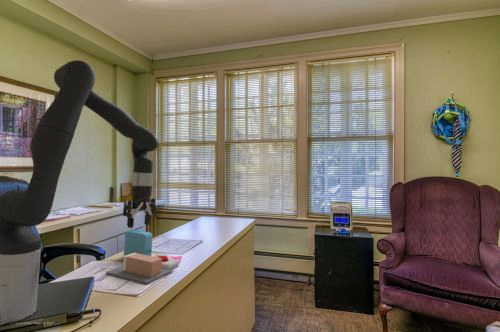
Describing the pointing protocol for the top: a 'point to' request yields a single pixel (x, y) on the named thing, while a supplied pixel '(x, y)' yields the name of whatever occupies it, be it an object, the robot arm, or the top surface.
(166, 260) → the red push button
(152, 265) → the block
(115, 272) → the mat
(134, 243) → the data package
